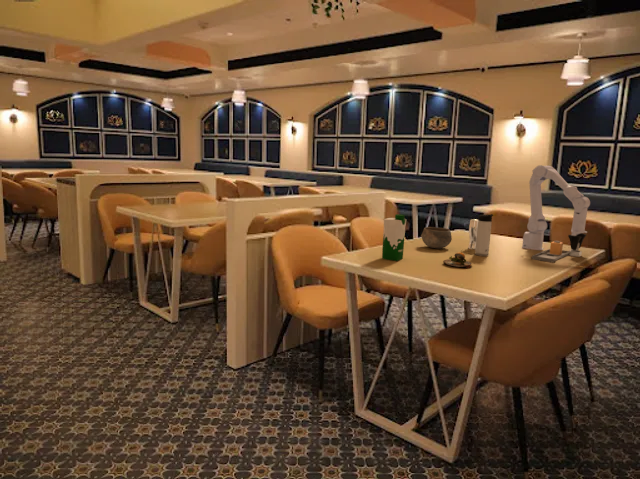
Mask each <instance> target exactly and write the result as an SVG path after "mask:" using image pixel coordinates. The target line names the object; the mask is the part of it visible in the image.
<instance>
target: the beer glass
mask: <svg viewBox="0 0 640 479" xmlns="http://www.w3.org/2000/svg"><path fill="white" fill-rule="evenodd" d="M478 219H479V218H478ZM478 219H477V218H476V219H475V218H473V219H472V218H471V219H470V221H469V227H468V234H469V242H468V243H469V244H468V247H467V248H468V249H469V250H474V251H475V247H476V237H477V227H478Z"/></svg>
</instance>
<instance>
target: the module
mask: <svg viewBox="0 0 640 479" xmlns="http://www.w3.org/2000/svg"><path fill="white" fill-rule="evenodd" d="M563 246H564V242H561V241H560V240H554V241H551V242H550V248H549V249H550V254H555V255H562V250H563V248H564V247H563Z"/></svg>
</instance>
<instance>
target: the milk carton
mask: <svg viewBox="0 0 640 479" xmlns="http://www.w3.org/2000/svg"><path fill="white" fill-rule="evenodd" d="M406 224H407V219H406V218H405V214H395V215H394V217H388V218H384V219H383V234H382V236H383V237H382V250H381V251H382V252H381V254H382V256H381V259H382V260H387V261H388V260H389V261H395V262H398V261H400V260H403V258H404V249H405V248H404V245H405V237H406V236H405V233H406Z"/></svg>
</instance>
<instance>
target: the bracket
mask: <svg viewBox="0 0 640 479" xmlns="http://www.w3.org/2000/svg"><path fill="white" fill-rule="evenodd" d="M568 251H569V253H568V255H567V256H568V257H569V256H571V257H577V258H580V257H581V256H582V253H583V251H582V250H579V251H578V252H576V251H573V250H572V249H571V248H570V249H569V250H568Z"/></svg>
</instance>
